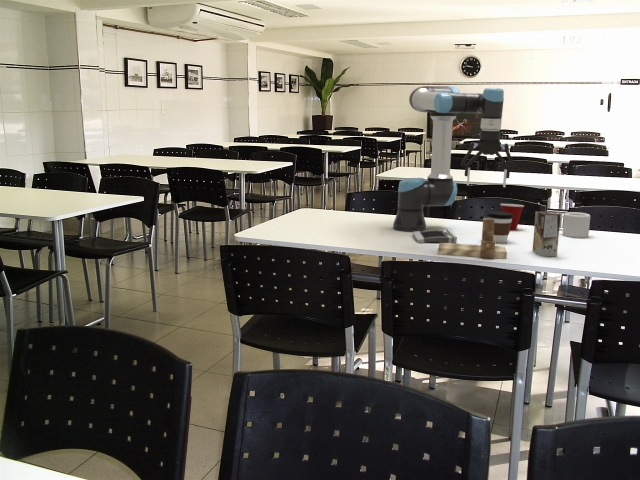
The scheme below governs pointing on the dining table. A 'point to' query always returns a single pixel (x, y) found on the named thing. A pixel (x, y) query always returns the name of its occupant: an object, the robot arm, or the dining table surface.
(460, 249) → the board
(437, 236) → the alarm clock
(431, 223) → the dining table surface
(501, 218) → the coffee cup
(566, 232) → the mug
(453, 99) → the robot arm
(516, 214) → the plastic cup
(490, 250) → the gauge
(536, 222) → the coffee box
